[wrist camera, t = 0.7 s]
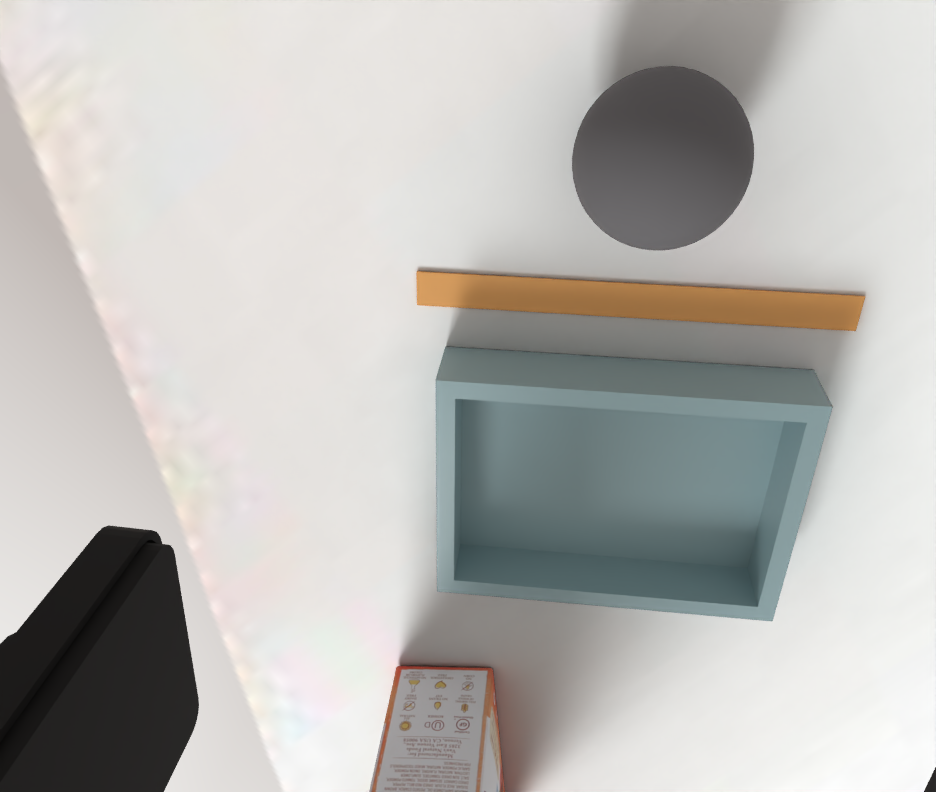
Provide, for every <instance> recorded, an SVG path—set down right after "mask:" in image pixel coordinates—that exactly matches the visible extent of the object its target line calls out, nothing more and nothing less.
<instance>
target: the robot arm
mask: <svg viewBox="0 0 936 792" xmlns="http://www.w3.org/2000/svg"><path fill="white" fill-rule="evenodd" d="M198 708H199V702H198V694H197V687H196V682H195V675H194V669H193V663H192V657H191V651H190V645H189V639H188V632H187V626H186V621H185V614H184V609H183V602H182V596H181V591H180V584H179V578H178V571H177V565H176V559H175V554H174V550H173V548H172V547H171V546H170V545H165V544H162V541H161V538H160V536H159V534H158V533H157V532H155V531H152V530H143V529H134V528H125V527H117V526H106V527H104V528H102V529H101V530H100V531H99V532H98V533H97V534H96V535H95V536H94V538H93V539H92V540H91V541H90V543H89V544H88V545H87V546H86V547H85V549H84V550H83V551H82V552H81V553H80V555H79V556H78V557H77V558H76V560H75V561H74V562H73V563H72V565H71V566H70V567H69V568H68V569H67V571H66V572H65V573H64V574H63V576H62V577H61V578H60V579H59V581H58V582H57V583H56V584H55V586H54V587H53V588H52V589H51V590H50V592H49V593H48V594H47V595H46V596H45V598H44V599H43V600H42V601H41V603H40V604H39V605H38V606H37V608H36V609H35V610H34V611H33V613H32V614H31V615H30V616H29V617H28V619H27V620H26V621H25V622H24V624H23V625H22V626H21V627H20V629H19V630H18V631H17V632H16V633H14V634H12V635H10V636H8V637H7V638H6V639H5V640H4V641H3V642H2V643H1V644H0V792H164V790H165V788H166V786H167V784H168V782H169V780H170V777H171V776H172V773H173V771H174V769H175V767H176V765H177V763H178V761H179V759H180V757H181V755H182V753H183V751H184V749H185V747H186V745H187V743H188V741H189V739H190V737H191V735H192V732H193V730H194V727H195V724H196V720H197V716H198ZM924 792H936V768H935V770H934V772H933V774H932V776H931V778H930V780H929V782H928V784H927V786H926V788H925V790H924Z"/></svg>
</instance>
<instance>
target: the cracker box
mask: <svg viewBox="0 0 936 792" xmlns="http://www.w3.org/2000/svg"><path fill="white" fill-rule="evenodd" d="M369 792H505V790H504V779H503V770H502V759H501V748H500V737H499V726H498V716H497V706H496V696H495V685H494V675H493V669H492V668H463V667H421V666H398V667H397V668H396V672H395V677H394V682H393V686H392V691H391V695H390V700H389V705H388V709H387V713H386V718H385V722H384V727H383V731H382V736H381V741H380V745H379V750H378V754H377V759H376V764H375V768H374V773H373V777H372V782H371V786H370V791H369Z"/></svg>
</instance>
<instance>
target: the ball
mask: <svg viewBox="0 0 936 792" xmlns="http://www.w3.org/2000/svg"><path fill="white" fill-rule="evenodd" d="M753 160H754V143H753V136H752V131H751V128H750V125H749V121H748V119H747V117H746V115H745V113H744V111H743V109H742V107H741V105H740V104H739V102H738V101H737V99H736V98H735V97H734V96H733V95H732V94H731V93H730V91H729V90H728V89H726V88H725V87H724V86H723V85H722V84H720V83H719V82H718V81H716V80H714V79H713V78H711V77H709V76H708V75H706V74H703V73H701V72H698V71H696V70H692V69H688V68H684V67H674V66H665V67H655V68H649V69H645V70H642V71H639V72H636V73H633V74H631V75H629V76H627V77H625V78H623V79H621V80H620V81H618V82H617V83H615V84H614V85H612V86H611V87H610V88H609V89H607V90H606V91H605V92H604V93H603V94H602V95H601V96H600V97H599V98H598V99H597V100H596V101H595V102H594V104H593V105H592V106H591V108H590V109H589V110H588V112H587V114H586V116H585V117H584V119H583V121H582V123H581V126H580V128H579V130H578V133H577V137H576V140H575V144H574V150H573V157H572V171H573V179H574V183H575V187H576V191H577V194H578V197H579V199H580V202H581V204H582V206H583V207H584V209H585V211H586V213H587V214H588V215H589V216H590V218H591V219H592V220H593V222H594V223H595V224H596V225H597V226H598V227H599V228H600V229H601V230H602V231H604V232H605V233H606V234H608V235H609V236H610V237H612V238H614V239H616V240H617V241H619V242H621V243H624V244H627V245H629V246H632V247H636V248H641V249H647V250H669V249H676V248H680V247H683V246H687V245H689V244H692V243H695V242H697V241H699V240H701V239H702V238H704V237H706V236H708V235H709V234H711V233H712V232H714V231H715V230H716V229H717V228H718V227H720V226H721V225H722V224H723V223H724V222H725V221H726V220H727V219H728V218H729V217H730V215H731V214H732V213H733V212H734V210H735V209H736V207H737V206H738V205H739V203H740V201H741V200H742V198H743V196H744V194H745V192H746V189H747V187H748V184H749V181H750V178H751V174H752V169H753Z"/></svg>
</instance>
